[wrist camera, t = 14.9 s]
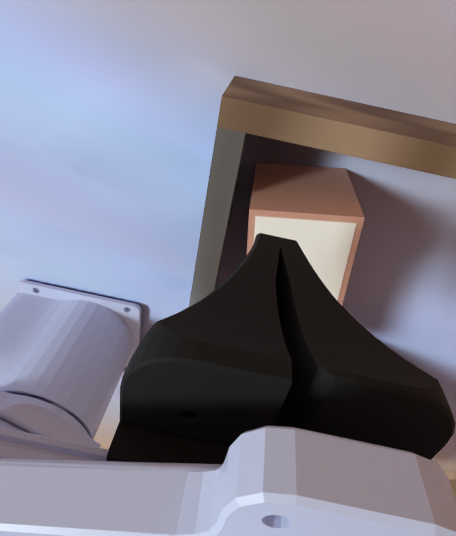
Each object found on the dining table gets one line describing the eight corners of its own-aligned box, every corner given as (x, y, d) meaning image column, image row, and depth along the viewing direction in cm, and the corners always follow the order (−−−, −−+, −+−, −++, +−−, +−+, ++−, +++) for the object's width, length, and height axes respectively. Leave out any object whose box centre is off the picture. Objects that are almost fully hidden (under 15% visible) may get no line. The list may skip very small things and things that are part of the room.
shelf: (198, 291, 27) (183, 341, 23) (234, 75, 19) (221, 95, 15) (426, 339, 27) (451, 398, 23) (563, 147, 19) (638, 187, 15)
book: (247, 297, 27) (240, 361, 22) (256, 162, 22) (249, 209, 17) (317, 303, 27) (325, 370, 22) (345, 167, 21) (365, 217, 16)
